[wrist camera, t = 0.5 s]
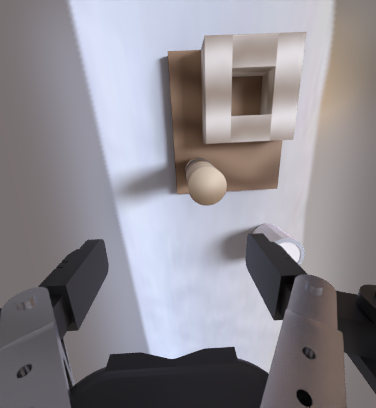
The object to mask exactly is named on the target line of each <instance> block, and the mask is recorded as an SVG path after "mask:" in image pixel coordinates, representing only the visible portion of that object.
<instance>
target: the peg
mask: <svg viewBox="0 0 376 408" xmlns="http://www.w3.org/2000/svg"><path fill="white" fill-rule="evenodd" d="M185 177H186V180H187V184H188V190H189V194H190V196H191V198H192V199H193V200H194V201H195V202H197V203H198V204H201V205H213V204H215V203H217V202H219V201H220V200H221V199H222V198H223V196H224V195H225V192H226V189H227V183H226V179H225V177H224V176H223V174H222V173H221V172H220V171H218V170H217V169H216V168H215V167H214V166H213V165H212V164H211V163H210V162H209V161H208V160H205V159H204V158H200V157H197V158H193V159H191V160H190V161H189V162H188V163H187V165H186V168H185Z"/></svg>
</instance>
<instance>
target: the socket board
mask: <svg viewBox="0 0 376 408" xmlns="http://www.w3.org/2000/svg"><path fill="white" fill-rule="evenodd" d="M305 39H306V32H293V33H266V34H238V35H210V36H204V40H203V44H202V48H201V50H191V51H168V64H169V79H170V93H171V108H172V123H173V138H174V153H175V168H176V183H177V194H189V190H188V184H187V180H186V177H185V168H186V165H187V163H188V162H189V161H190V160H191V159H193V158H197V157H200V158H204V159H205V160H208V161H209V162H210V163H211V164H212V165H213V166H214V167H215V168H216V169H217V170H218V171H220V172H221V173H222V174H223V176H224V177H225V179H226V183H227V189H226V191H242V190H259V189H277V186H278V176H279V167H280V157H281V147H282V140H292V139H293V138H294V130H295V122H296V113H297V105H298V97H299V89H300V80H301V72H302V64H303V56H304V48H305Z"/></svg>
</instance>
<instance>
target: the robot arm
mask: <svg viewBox="0 0 376 408" xmlns="http://www.w3.org/2000/svg"><path fill="white" fill-rule="evenodd" d="M246 266H247V269H248V271H249V273H250V275H251V277H252V279H253V281H254V283H255V285H256V287H257V288H258V290H259V292H260V294H261V296H262V298H263V300H264V302H265V304H266V306H267V308H268V310H269V312H270V314H271V316H272V318H273V319H274V320H283V323H282V326H281V330H280V334H279V338H278V341H277V345H276V349H275V353H274V357H273V360H272V364H271V368H270V372H269V374H268V373H267V372H266V371H264V370H263V369H261V368H260V367H258V366H256V365H254V364H252V363H250V362H248V361H245V360H242V359H238V358H237V356H236V352H235V348H234V347H225V348H208V349H202V350H199V351H196V352H193V353H190V354H188V355H185V356H182V357H179V358H176V359H167V358H163V357H159V356H154V355H150V354H145V353H125V354H111V355H110V357H109V360H108V363H107V366H106V367H105V368H102V369H99V370H97V371H95V372H93V373H92V374H90V375H88V376H86V377H85V378H84V379H82V380H81V381H79V382H78V383H77V384H75V383H74V379H73V375H72V371H71V367H70V362H69V358H68V354H67V350H66V346H65V342H64V339H63V337H64V335H65V333H66V332H67V331H74V330H75V331H76V330H79V328H80V326H81V324H82V322H83V320H84V318H85V316H86V314H87V312H88V311H89V309H90V307H91V305H92V303H93V301H94V299H95V297H96V295H97V293H98V291H99V289H100V287H101V285H102V283H103V282H104V280H105V278H106V276H107V273H108V259H107V254H106V248H105V243H104V241H103V240H102V239H97V240H87V241H86V242H85V243H84V244H83V246H81V248H80V249H77V250H75V251H73V252H72V253H70V254H69V255H67V256H66V258H65V259H64V260H63V261H62V263H60V264H59V265H58V266H57V268H56V269H54V270H53V271H52V273H51V274H50V275H49V276H48V277H47V278H46V279H45V280H44V281H43V282H42V283H41V284H40V285H39V286H38V287H35V288H31V289H27V290H25V291H22V292H20V293H18V294H16V295H15V296H13V297H12V298H10V299H9V300H8V301H7V302H6V303H5V304H4V306H3V307H2V308H0V408H347V404H346V383H345V364H344V352H345V353H347V354H348V356H349V357H350V359H351V360H352V361H353V363H354V364H355V366H356V367H357V368H358V370H359V371H360V373H361V374H362V375H363V377H364V378H365V379H366V381H367V382H368V384H369V385H370V387H371V388H372V389H373V391H374V392H375V394H376V286H375V285H363V286H361V287H360V290H359V293H358V295H356V294H351V293H345V292H339V291H336V290H335V288H334V287H333V286H332V285H331V284H330V283H329V282H327V281H325V280H324V279H322V278H319V277H317V276H313V275H308V274H307V273H306V272H305V271H304V270H303V269H302V268H301V267H300V266H299V265H298V263H297V262H296V261H295V260H294V259H292V257H291V256H290V255H289V254H287V252H286V251H285V250H284V248H283V247H282V246H280V245H278V244H277V243H275V242H270V241H269V240H268V238H267V237H266V236H265V235H264V234H263V233H255V234H248V237H247V248H246Z"/></svg>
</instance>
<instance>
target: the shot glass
mask: <svg viewBox="0 0 376 408" xmlns="http://www.w3.org/2000/svg"><path fill="white" fill-rule="evenodd" d="M255 233H263V234H264V235H265V236H266V237H267V238H268V240H269V241H270V242H275V243H277V244H278V245H280V246H282V247H283V248H284V250H285V251H286V252H287V254H289V255H290V256H291V257H292V259H294V260H295V261H296V262H297V263H298V265H300V264H301V263H302V261H303V259H304V254H305V252H304V248H303V246H302V245H301V244H300V242H299V241H297V240H296V239H294V238H293V237H291V236H290V235H288V234H287V233H286V232H284V231H283V230H281V229H280V228H278V227H277V226H275V225H273V224H263V225H260V226H258V227H257V228H256V229H255V230H254V232H253V233H252V234H255Z"/></svg>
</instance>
